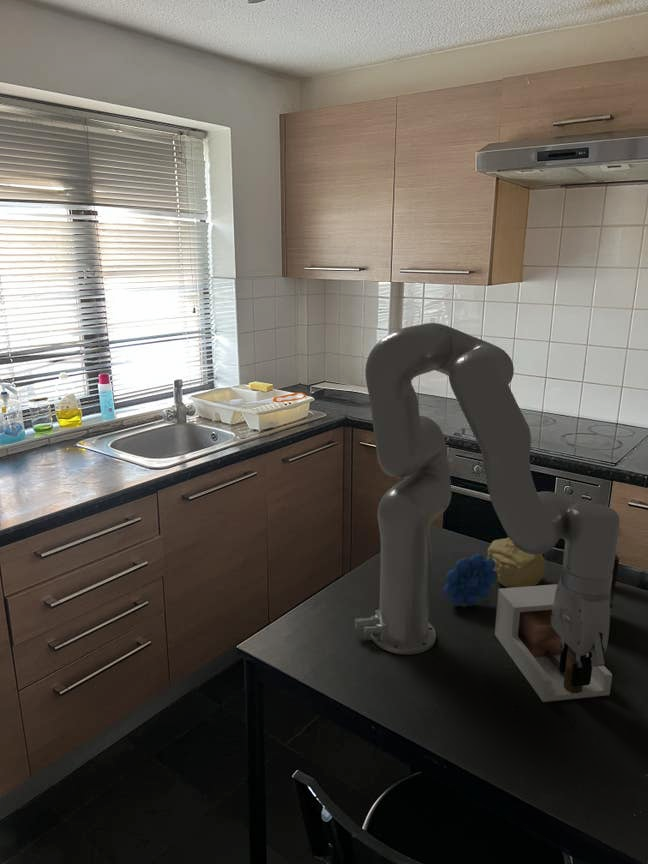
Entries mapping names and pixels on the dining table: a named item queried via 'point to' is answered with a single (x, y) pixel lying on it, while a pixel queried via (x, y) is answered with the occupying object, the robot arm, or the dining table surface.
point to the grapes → (470, 580)
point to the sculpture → (515, 564)
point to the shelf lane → (540, 667)
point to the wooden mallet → (546, 642)
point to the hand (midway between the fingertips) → (574, 676)
